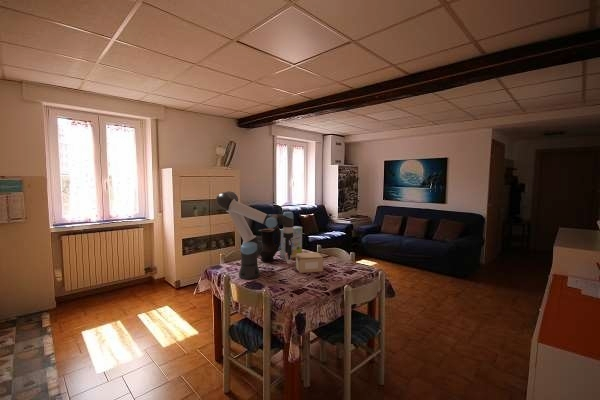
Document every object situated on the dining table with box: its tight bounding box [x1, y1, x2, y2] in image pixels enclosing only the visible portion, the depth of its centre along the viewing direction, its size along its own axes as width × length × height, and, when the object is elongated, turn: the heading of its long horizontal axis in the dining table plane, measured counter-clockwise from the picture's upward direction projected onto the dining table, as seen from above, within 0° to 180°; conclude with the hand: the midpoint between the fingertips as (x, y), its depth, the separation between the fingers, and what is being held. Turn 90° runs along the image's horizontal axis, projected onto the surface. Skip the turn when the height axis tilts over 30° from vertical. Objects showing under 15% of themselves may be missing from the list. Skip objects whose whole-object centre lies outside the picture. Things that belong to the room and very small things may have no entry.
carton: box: [295, 257, 324, 274], centre depth 221 cm, size 18×14×10 cm
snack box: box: [279, 225, 303, 260], centre depth 256 cm, size 22×9×26 cm, turn 143°
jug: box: [257, 226, 281, 263], centre depth 241 cm, size 21×18×30 cm
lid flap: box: [285, 252, 324, 259], centre depth 220 cm, size 27×13×4 cm, turn 103°
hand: (288, 262), depth 217 cm, fingers closed on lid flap, 5 cm apart
